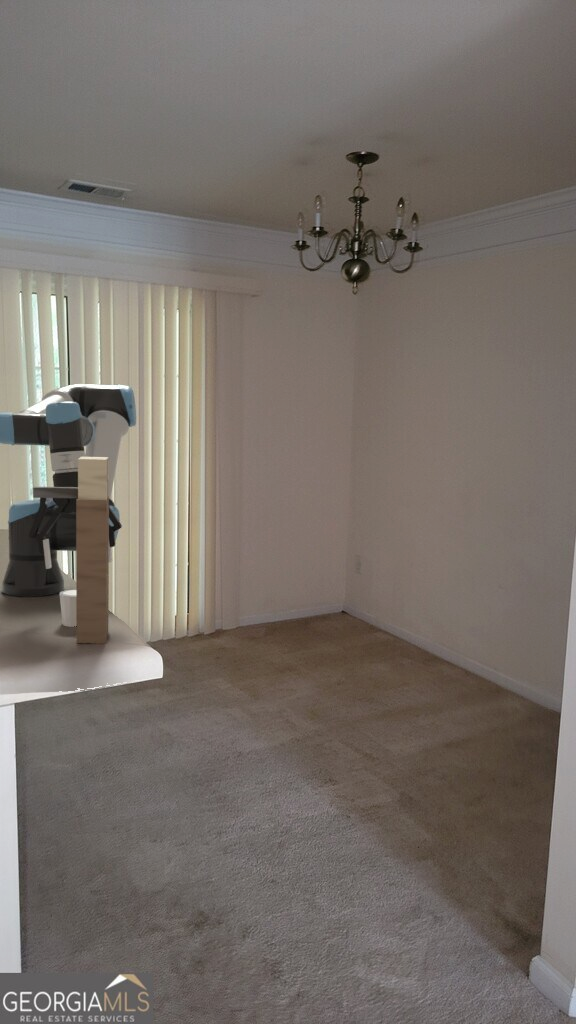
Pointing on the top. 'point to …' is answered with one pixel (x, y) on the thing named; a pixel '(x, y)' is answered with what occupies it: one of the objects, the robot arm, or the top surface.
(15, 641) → the top surface
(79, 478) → the beige wooden block
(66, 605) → the white cup
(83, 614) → the brown wooden tall block
